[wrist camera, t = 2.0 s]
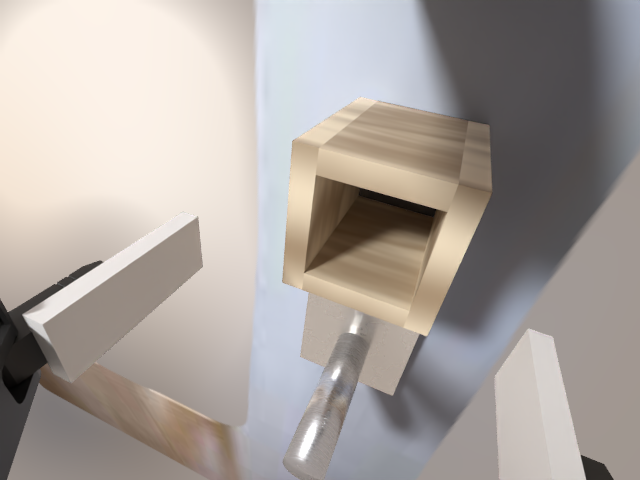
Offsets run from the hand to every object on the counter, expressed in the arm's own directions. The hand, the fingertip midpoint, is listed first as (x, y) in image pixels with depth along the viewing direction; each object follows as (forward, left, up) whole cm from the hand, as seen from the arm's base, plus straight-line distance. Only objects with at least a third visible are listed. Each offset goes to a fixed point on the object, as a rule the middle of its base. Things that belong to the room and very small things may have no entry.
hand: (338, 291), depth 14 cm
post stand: (+14, +10, -13) cm, 21 cm away
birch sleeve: (0, 0, -13) cm, 13 cm away
